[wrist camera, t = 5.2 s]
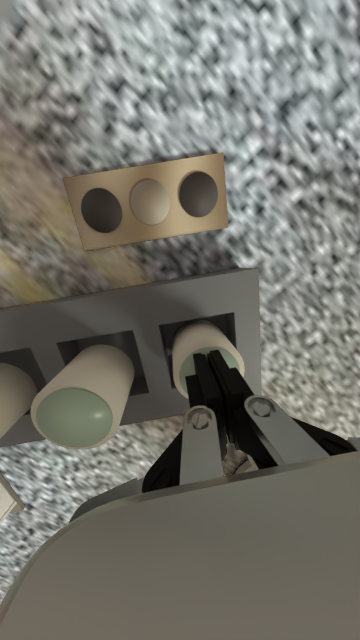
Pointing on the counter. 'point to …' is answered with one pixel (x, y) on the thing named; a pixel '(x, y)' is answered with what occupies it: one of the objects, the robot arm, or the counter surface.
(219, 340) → the button
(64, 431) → the button
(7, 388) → the button
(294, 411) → the counter surface
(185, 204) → the pattern card
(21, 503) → the skyscraper
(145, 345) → the grey flat block
